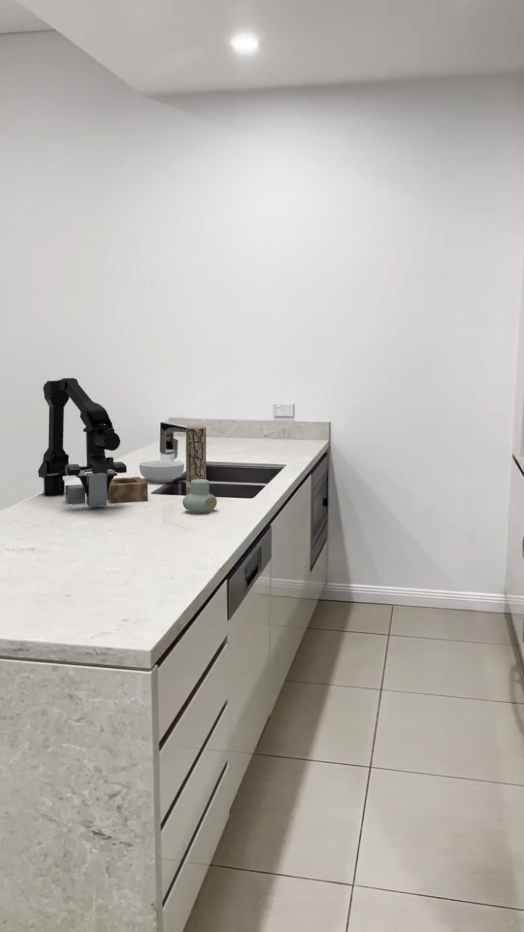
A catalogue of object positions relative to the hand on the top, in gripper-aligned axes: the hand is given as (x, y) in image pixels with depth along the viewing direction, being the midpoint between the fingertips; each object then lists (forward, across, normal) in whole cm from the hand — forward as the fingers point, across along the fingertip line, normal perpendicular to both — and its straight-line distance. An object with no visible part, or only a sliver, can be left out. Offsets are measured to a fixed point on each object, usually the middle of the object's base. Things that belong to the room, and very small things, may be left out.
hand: (96, 495), depth 259 cm
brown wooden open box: (+4, +12, +12) cm, 18 cm away
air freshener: (+4, +30, -15) cm, 34 cm away
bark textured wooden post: (+4, +35, +5) cm, 36 cm away
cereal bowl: (+5, +32, +39) cm, 51 cm away
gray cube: (+4, -5, +11) cm, 13 cm away
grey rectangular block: (+3, 0, 0) cm, 3 cm away
